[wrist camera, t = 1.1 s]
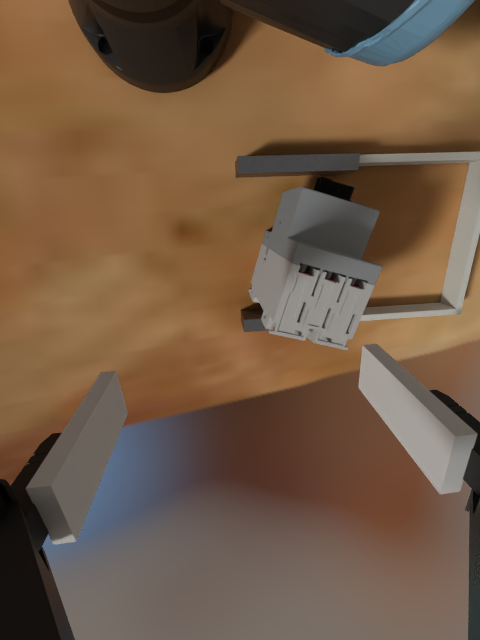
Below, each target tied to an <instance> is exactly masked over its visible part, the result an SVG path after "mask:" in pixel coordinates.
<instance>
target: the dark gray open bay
mask: <svg viewBox="0 0 480 640" xmlns="http://www.w3.org/2000/svg"><path fill="white" fill-rule="evenodd" d="M359 161H360V153H346V154H308V155H270V156H238V158H237V160H236V162H235V168H236V178H238V177H270V176H302V175H334V174H346V173H349V172H353V171H357V170H359ZM262 314H263V309H247V310H241V322H242V326H243V329H244V332H250V331H264V330H269V329H266V328H265V327H264V325H263V323H262V320H261V318H262Z"/></svg>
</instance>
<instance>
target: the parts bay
mask: <svg viewBox="0 0 480 640" xmlns="http://www.w3.org/2000/svg"><path fill="white" fill-rule="evenodd" d="M456 163H469V167H468V172H467V177H466V182H465V186H464V191H463V196H462V201H461V205H460V210H459V215H458V220H457V224H456V229H455V234H454V239H453V243H452V248H451V253H450V258H449V262H448V267H447V272H446V277H445V281H444V286H443V291H442V296H441V300H440V302H439V303H424V304H409V305H393V306H378V307H365V310H364V312H363V314H362V317H361V319H360V321H367V320H381V319H396V318H410V317H425V316H440V315H454V314H460V313H461V309H462V305H463V301H464V297H465V292H466V288H467V284H468V280H469V276H470V271H471V267H472V263H473V259H474V255H475V251H476V246H477V242H478V238H479V234H480V152H443V153H405V154H367V155H360V161H359V166H388V165H422V164H456Z"/></svg>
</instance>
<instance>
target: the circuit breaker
mask: <svg viewBox="0 0 480 640" xmlns="http://www.w3.org/2000/svg"><path fill="white" fill-rule="evenodd" d="M353 190H354V187H351V186H347V185H344V184H340V183H337V182H333V181H332V180H330V179H327V178H324V177H321V178H318V179H317V182H316V185H315V188H314V190H312V189H309V188H306V187H299V188H296V189H292V190H288V191H284V192H283V194H282V198H281V201H280V205H279V208H278V212H277V215H276V218H275V222H274V225H273V229H272V232H270V231H265V235H264V238H263V242H262V245H261V249H260V252H259V256H258V260H257V263H256V267H255V270H254V274H253V277H252V281H251V283H252V289H249V291H248V292H249V293H250V296H251V299H252V301H253V302H257V303H260V305H261V307H262V309H263V314H262V318H261V320H262V323H263V325H264V327H265V328H266V329H269V333H271V334H275V335H280V336H284V337H289V338H293V339H298V340H303V341H305V340H306V337H307V338H308V339H310V340H311V341H312V342H313V343H316V344H321V345H326V346H330V347H335V348H339V349H344V350H348V347H347V346H345V345H346V342H347V340H348V339H351V340H352V338H353V336H354V333H355V331H356V329H357V326H358V324H359V322H360V319H361V317H362V314H363V312H364V310H365V307H366V305H367V303H368V300H369V298H370V296H371V293H372V291H373V288H374V286H375V284H376V281H377V279H378V277H379V274H380V272H381V270H382V265H379V264H375V263H372V262H369V261H366V260H363V259H362V256H363V254H364V251H365V249H366V246H367V244H368V241H369V239H370V236H371V233H372V231H373V228H374V226H375V223H376V221H377V218H378V216H379V213H380V211H378V210H375V209H372V208H370V207H367V206H364V205H361V204H358V203H355V202H351V201H350V198H351V196H352V193H353Z"/></svg>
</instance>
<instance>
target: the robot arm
mask: <svg viewBox="0 0 480 640" xmlns="http://www.w3.org/2000/svg"><path fill="white" fill-rule="evenodd" d="M68 1H69V4H70V6H71V9H72V12H73V14H74V16H75V18H76V21H77V23H78V25H79V27H80V29H81V31H82V32H83V34H84V36H85V37H86V39H87V40H88V42H89V43H90V45H91V46H92V47H93V49H94V50H95V52H96V53H97V54H98V56H99V57H100V58H101V59H102V61H103V62H104V63H105V64H106V65H107V66H108V67H109V68H110V69H111V70H112V71H113V72H114V73H115V74H117V75H118V76H119V77H120V78H122V79H123V80H125V81H126V82H128V83H130V84H132V85H134V86H136V87H138V88H141V89H144V90H147V91H151V92H158V93H170V92H177V91H181V90H184V89H186V88H189V87H191V86H193V85H194V84H196V83H197V82H199V81H200V80H202V79H203V78H204V77H205V76H206V75H207V74H208V73H209V72H210V71H211V70H212V69H213V67H214V66H215V65H216V63H217V61H218V60H219V58H220V56H221V55H222V53H223V50H224V48H225V46H226V43H227V40H228V37H229V33H230V29H231V23H232V15H233V10H234V11H237V12H239V13H242V14H244V15H247V16H249V17H251V18H254V19H256V20H259V21H261V22H263V23H266V24H268V25H271V26H273V27H276V28H278V29H280V30H283V31H285V32H288V33H290V34H292V35H295V36H297V37H300V38H302V39H304V40H307V41H309V42H312V43H314V44H317V45H319V46H321V47H324V48H325V51H326V52H327V53H328V54H330V55H332V56H335V57H350V58H353V59H356V60H359V61H362V62H365V63H368V64H371V65H374V66H386V65H389V64H392V63H397V62H401V61H404V60H406V59H408V58H410V57H411V56H413V55H415V54H416V53H418V52H419V51H421V50H422V49H424V48H425V47H426V46H428V45H429V44H430V43H432V42H433V41H434V40H435V39H436V38H438V37H439V36H440V35H441V34H442V33H443V32H445V31H446V30H447V29H448V28H449V27H450V26H451V25H452V24H453V23H454V22H455V21H456V20H457V19H458V18H459V17H460V16H461V15H462V14H463V13H464V12H465V11H466V10H467V9H468V8H469V7H470V5H471V4H472V3H473V2H474V1H475V0H68ZM359 389H360V390H361V391H362V393H363V394H364V395H365V397H366V398H367V399H368V401H369V402H370V403H371V405H372V406H373V407H374V409H375V410H376V411H377V412H378V414H379V415H380V416H381V418H383V420H384V422H385V423H386V424H387V425H388V427H389V428H390V429H391V431H392V432H393V433H394V435H395V436H396V437H397V439H398V440H399V441H400V443H401V444H402V445H403V446H404V448H405V449H406V450H407V451H408V453H409V454H410V456H411V457H412V458H413V459H414V461H415V462H416V463H417V465H418V466H419V467H420V469H421V470H422V471H423V473H424V474H425V475H426V476H427V478H428V479H429V480H430V482H431V483H432V484H433V485H434V487H435V488H436V490H437V491H438V492H439V494H445V493H452V492H460V490H461V486H462V483H463V480H465V481H466V483H467V484H468V485H469V486H470V487H471V488H472V491H471V494H470V497H469V500H468V503H467V506H466V509H465V510H467V511H469V510H470V532H469V539H470V540H469V623H468V624H469V625H468V628H469V629H468V640H480V422H479V421H478V420H476V419H475V418H474V417H473V416H472V415H471V414H469V413H467V412H466V410H465V409H463V408H462V407H461V406H459V405H458V404H457V403H456V402H455V401H454V400H453V399H451V398H450V397H449V396H447V395H445V394H444V393H442V392H440V391H438V390H428V389H427V388H425V387H424V386H423V385H422V384H421V383H420V382H419V381H418V380H417V379H415V378H414V377H413V376H412V375H411V374H410V373H409V372H408V371H407V370H405V369H404V368H403V367H402V366H401V365H400V364H399V363H398V362H396V361H395V360H394V359H393V358H392V357H391V356H390V355H389V354H388V353H386V352H385V351H384V350H383V349H382V348H381V347H380V346H379V345H377V344H369V345H363V348H362V358H361V368H360V378H359ZM127 414H128V412H127V409H126V405H125V401H124V398H123V394H122V390H121V387H120V383H119V379H118V376H117V372H116V371H110V372H101V373H100V375H99V377H98V378H97V380H96V381H95V383H94V384H93V386H92V387H91V389H90V390H89V392H88V393H87V395H86V396H85V398H84V400H83V401H82V403H81V404H80V406H79V407H78V409H77V410H76V412H75V413H74V415H73V416H72V418H71V420H70V421H69V423H68V424H67V426H66V427H65V429H64V430H63V432H62V433H54V434H51V435H50V436H49V437H48V438H47V439H46V440H44V441H43V442H42V443H41V444H40V445H39V447H38V448H37V450H36V451H35V452H34V454H33V457H31V458H30V459H29V461H28V462H27V465H26V466H24V468H23V469H22V471H21V472H20V473H19V475H18V476H17V478H16V479H15V481H14V482H13V483H12V485H11V486H10V485H9V483H8V482H7V481H6V480H3V479H0V640H75V639H74V636H73V633H72V630H71V627H70V624H69V622H68V618H67V615H66V613H65V610H64V607H63V604H62V601H61V598H60V595H59V592H58V589H57V587H56V583H55V581H54V577H53V575H52V572H51V569H50V566H49V563H48V560H47V557H46V554H45V551H44V550H43V547H42V545H43V543H44V541H45V539H46V537H47V535H48V534H49V536H50V538H51V540H52V542H53V544H61V543H68V542H76V540H77V538H78V536H79V533H80V530H81V528H82V526H83V523H84V521H85V518H86V516H87V513H88V511H89V508H90V506H91V503H92V501H93V498H94V496H95V493H96V491H97V488H98V486H99V483H100V481H101V478H102V476H103V474H104V471H105V469H106V466H107V464H108V461H109V458H110V456H111V454H112V451H113V449H114V446H115V444H116V441H117V439H118V436H119V434H120V431H121V429H122V426H123V424H124V421H125V419H126V416H127Z"/></svg>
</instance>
